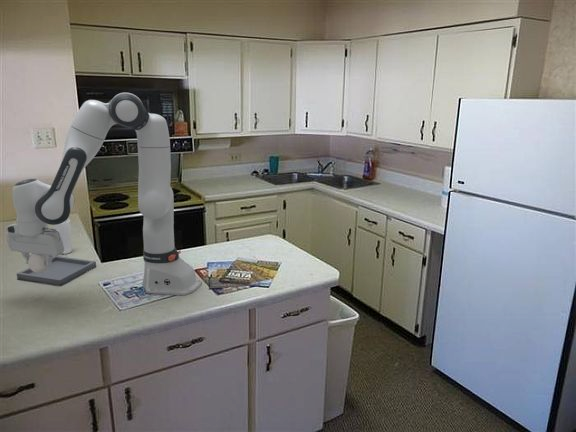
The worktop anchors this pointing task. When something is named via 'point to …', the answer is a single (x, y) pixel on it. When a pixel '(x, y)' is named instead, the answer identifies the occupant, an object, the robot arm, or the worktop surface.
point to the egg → (37, 263)
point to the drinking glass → (65, 235)
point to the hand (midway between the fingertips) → (39, 264)
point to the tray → (58, 271)
